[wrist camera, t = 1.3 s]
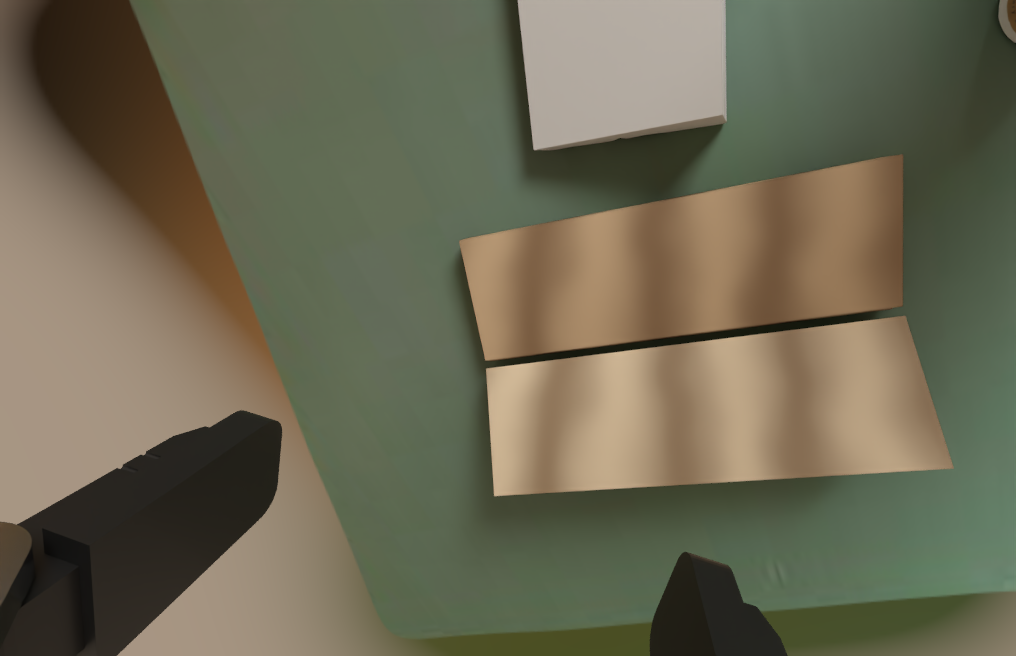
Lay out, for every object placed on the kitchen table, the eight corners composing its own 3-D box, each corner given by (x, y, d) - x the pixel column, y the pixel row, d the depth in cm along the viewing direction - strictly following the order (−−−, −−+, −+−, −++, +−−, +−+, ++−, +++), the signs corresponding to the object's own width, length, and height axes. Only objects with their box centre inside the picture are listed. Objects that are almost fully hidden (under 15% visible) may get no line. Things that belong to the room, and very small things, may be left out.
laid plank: (883, 157, 26) (903, 154, 24) (884, 305, 28) (902, 313, 26) (466, 238, 31) (459, 240, 29) (492, 357, 33) (486, 366, 31)
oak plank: (888, 323, 27) (905, 315, 26) (932, 467, 25) (953, 468, 24) (493, 372, 33) (486, 368, 31) (502, 493, 31) (494, 496, 29)
